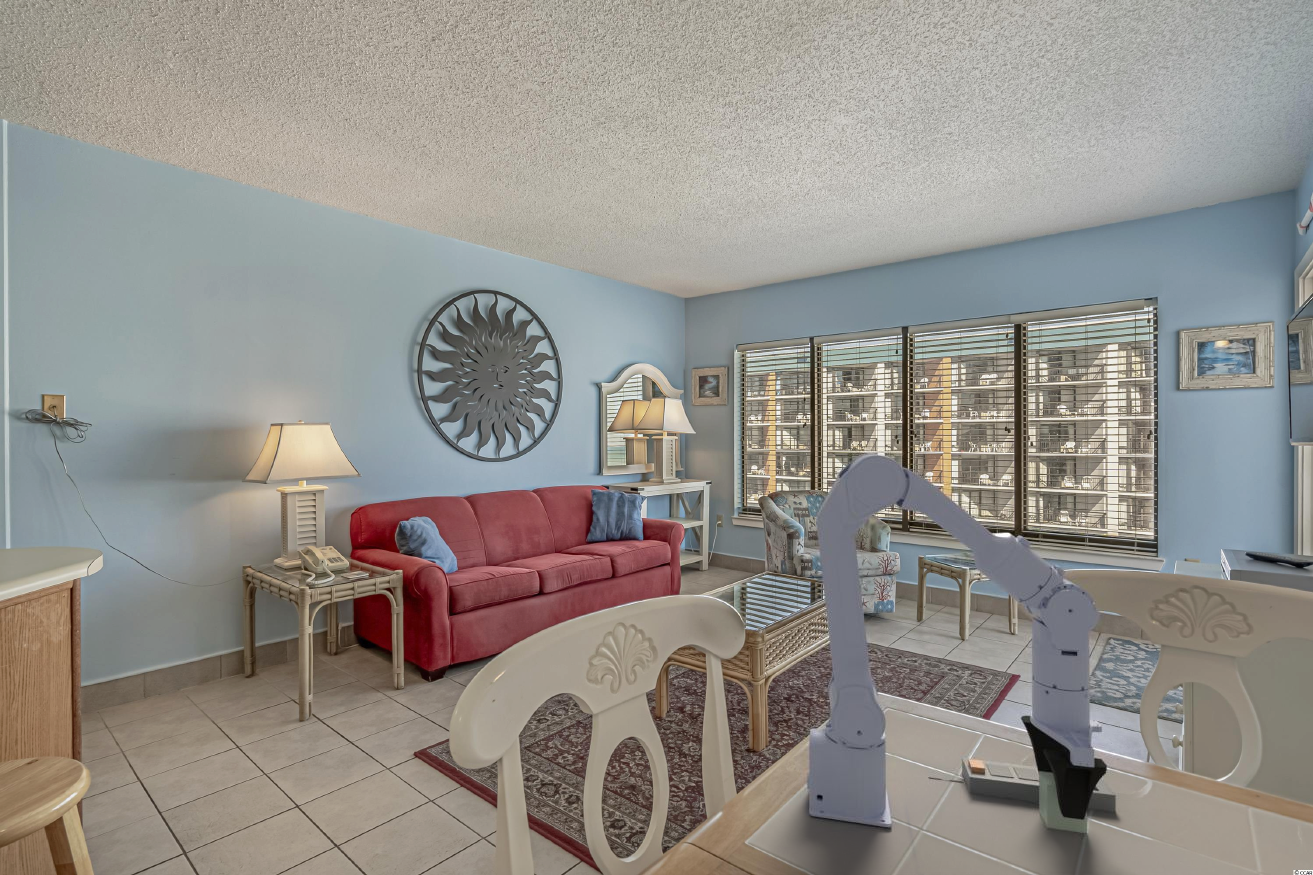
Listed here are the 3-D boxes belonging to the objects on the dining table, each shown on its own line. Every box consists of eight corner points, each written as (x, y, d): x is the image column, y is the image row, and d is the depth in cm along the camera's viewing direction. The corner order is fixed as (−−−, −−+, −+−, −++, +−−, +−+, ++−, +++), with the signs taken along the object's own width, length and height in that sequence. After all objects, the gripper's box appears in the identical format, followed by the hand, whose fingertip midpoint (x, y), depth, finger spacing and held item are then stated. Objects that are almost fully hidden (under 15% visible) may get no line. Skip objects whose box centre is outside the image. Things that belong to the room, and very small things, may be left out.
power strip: (931, 795, 82) (931, 767, 82) (926, 775, 87) (925, 748, 87) (1115, 819, 76) (1115, 789, 76) (1099, 797, 81) (1098, 769, 81)
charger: (1047, 836, 74) (1047, 775, 74) (1039, 821, 76) (1039, 762, 76) (1087, 841, 72) (1086, 780, 72) (1077, 826, 75) (1077, 767, 75)
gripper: (1127, 710, 66) (1128, 841, 66) (1076, 663, 80) (1077, 771, 80) (1051, 703, 68) (1051, 830, 68) (1014, 658, 82) (1014, 763, 82)
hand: (1060, 797), depth 75 cm, fingers open, 7 cm apart
